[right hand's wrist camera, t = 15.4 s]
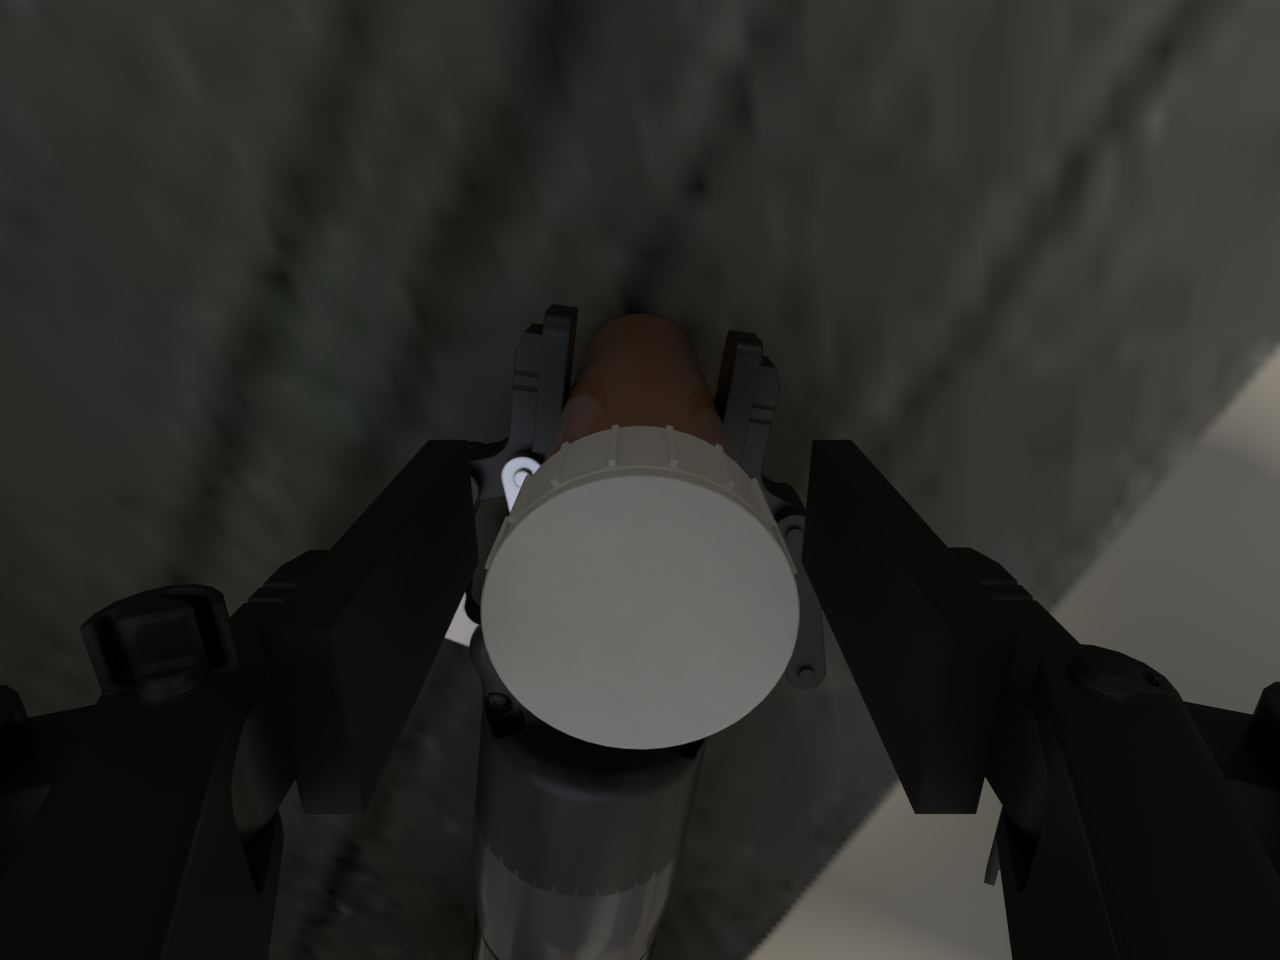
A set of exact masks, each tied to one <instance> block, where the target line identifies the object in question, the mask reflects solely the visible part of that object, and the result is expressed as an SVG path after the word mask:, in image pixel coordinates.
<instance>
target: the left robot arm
mask: <svg viewBox="0 0 1280 960" xmlns="http://www.w3.org/2000/svg"><path fill="white" fill-rule="evenodd" d="M577 315H578V308H577V307H570V306H562V305H555V304H552V305H551V306H550V307H549V308H548V310H547V311H546V313H545V318H544V324H543V325H541V324H534V323H532V324H531V325H530V327H529V328H528V329H527V330H526V331H525V332H524V334H523V336H522V338H521V340H520V342H519V344H518V346H517V348H516V350H515V363H514V377H513V391H512V404H511V418H510V432H509V437H508V438H506V439H504V440H502V441H499V442H494V443H490V444H484V443H481V442H476V441H472V442H468V443H467V444H468V454H469V464H470V475H471V485H472V495H473V505H474V516H475V514H476V512H477V509H478V507H479V504H480V502H481V501H484V500H489V499H494V498H499V497H504V496H506V500H507V504H508V508H509V512H511V509H512V507H513V505H514V502H515V500H516V498H517V495H518V493H519V490H520V488H521V486H522V483H523V481H524V479H525V477H526V476H527V474H530V475H531V476H532V475H533V474H534V473H535V472H536V471H537V469H538V468H539V467H540V466H541V465H542V464H543V461H544V458H545V456H546V453H547V450H548V448H549V445H550V442H551V440H552V437H553V434H554V432H555V429H556V427H557V424H558V421H559V419H560V416H561V413H562V411H563V408H564V405H565V403H566V400H567V397H568V395H569V392H570V384H571V374H572V364H573V355H574V345H575V336H576V326H577ZM779 389H780V385H779V380H778V374H777V368H776V367H775V366H774V364H773V363H772V362H771V361H770V360H769V358H768V357H764V356H763V343H762V341H761V340H760V339H759V338H758V337H757V336H756V335H755V334H754V333H747V332H740V331H733V330H729V332H728V334H727V338H726V342H725V347H724V353H723V358H722V363H721V369H720V374H719V379H718V385H717V390H716V395H715V401H714V403H715V405H716V408H717V411H718V413H719V416H720V418H721V421H722V424H723V426H724V429H725V432H726V434H727V437H728V439H729V442H730V445H731V447H732V450H733V453H734V455H735V458H736V461H737V463H738V465H739V466H740V467H741V468H742V469H743V470H744V471H745V473H746V474H747V475H748V476H749V477H750V479H753V478H754V477H755V478H756V479H757V481H758V483H759V485H760V487H761V489H762V492H763V494H764V496H765V499H766V501H767V503H768V506H769V508H770V510H771V513H772V515H773V517H774V520H775V521H776V523H777V525H778V528H779V530H780V532H781V535H782V537H783V539H784V542H785V544H786V546H787V548H788V551H789V553H790V555H791V558H792V560H793V562H794V565H795V567H796V571H797V573H796V574H794V577H795V580H796V583H797V588H798V594H799V600H800V622H799V629H798V636H797V640H796V643H795V647H794V650H793V653H792V656H791V658H790V660H789V662H788V665H787V667H786V669H785V671H784V672H785V674H786V677H787V680H788V682H789V683H790V684H791V685H792V686H794V687H796V688H799V689H810V688H813V687H816V686H817V685H819V684H820V683H821V682H822V681H823V679H824V678H825V675H826V665H825V651H824V637H823V623H822V609H821V605H820V602H819V600H818V598H817V596H816V594H815V591H814V589H813V587H812V585H811V582H810V580H809V578H808V576H807V574H806V571H805V569H804V567H803V565H802V563H801V557H802V546H803V536H804V526H805V516H806V509H805V507H804V505H803V504H802V502H801V500H800V498H799V496H798V494H797V493H796V491H795V489H794V488H793V487H792V486H790V485H788V484H786V483H776V482H774V481H772V480H770V479H768V478H766V477H764V476H763V475H762V474H761V472H762V466H763V462H764V457H765V453H766V448H767V443H768V439H769V434H770V430H771V425H772V421H773V416H774V412H775V407H776V403H777V398H778V394H779ZM472 585H473V580H472V578H471V580H470V582H469V585H468V587H467V589H466V591H465V594H464V596H463V598H462V600H461V602H460V605H459V607H458V609H457V611H456V613H455V616H454V618H453V620H452V622H451V624H450V627H449V629H448V631H447V633H446V636H445V638H446V639H449V640H452V641H454V642H457V643H460V644H462V645H465V646H468V647H469V652H470V657H471V660H472V663H473V664H474V666H475V668H476V670H477V671H478V673H479V675H480V677H481V680H482V684H483V706H482V720H481V735H480V749H479V763H478V778H477V792H476V806H475V820H474V836H473V852H472V864H473V877H474V886H475V893H476V907H475V921H474V934H473V947H472V960H651V959H652V954H653V950H654V945H655V941H656V936H657V932H658V927H659V922H660V920H661V918H662V916H663V913H664V911H665V909H666V906H667V904H668V902H669V899H670V897H671V894H672V891H673V888H674V884H675V880H676V877H677V873H678V869H679V864H680V860H681V855H682V851H683V846H684V842H685V837H686V832H687V828H688V824H689V819H690V815H691V810H692V806H693V802H694V797H695V793H696V788H697V784H698V779H699V775H700V770H701V766H702V761H703V757H704V752H705V748H706V744H707V739H708V736H707V737H705V738H702V739H699V740H696V741H692V742H689V743H686V744H682V745H676V746H671V747H665V748H654V749H624V748H616V747H609V746H603V745H599V744H595V743H591V742H587V741H584V740H581V739H579V738H576V737H573V736H570V735H568V734H566V733H564V732H562V731H560V730H558V729H556V728H554V727H552V726H550V725H549V724H547V723H546V722H544V721H543V720H541V719H539V718H538V717H537V716H535V715H534V714H533V713H532V712H530V711H529V710H528V709H527V708H525V707H524V706H523V705H522V704H521V703H520V702H519V701H518V700H517V699H516V698H515V697H514V696H513V694H512V693H511V692H510V691H509V690H508V688H507V687H506V686H505V684H504V683H503V681H502V680H501V679H500V677H499V675H498V673H497V672H496V670H495V668H494V666H493V664H492V662H491V660H490V657H489V654H488V652H487V649H486V646H485V643H484V638H483V633H482V628H481V614H480V606H479V605H478V604H477V603H476V602H475V601H474V599H473V597H472V594H471V589H472Z"/></svg>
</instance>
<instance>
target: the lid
mask: <svg viewBox="0 0 1280 960" xmlns="http://www.w3.org/2000/svg"><path fill="white" fill-rule="evenodd" d="M485 569H487V570H488V571H487V574H486V578H485V581H484V585H483V589H482V596H481V607H480V614H481V628H482V633H483V638H484V643H485V646H486V649H487V652H488V654H489V657H490V660H491V662H492V664H493V666H494V668H495V670H496V672H497V673H498V675H499V677H500V679H501V680H502V681H503V683H504V684H505V686H506V687H507V688H508V690H509V691H510V692H511V693H512V694H513V696H514V697H515V698H516V699H517V700H518V701H519V702H520V703H521V704H522V705H523V706H524V707H525V708H527V709H528V710H529V711H530V712H532V713H533V714H534V715H535V716H537V717H538V718H539V719H541V720H543V721H544V722H546V723H547V724H549V725H550V726H552V727H554V728H556V729H558V730H560V731H562V732H564V733H566V734H568V735H570V736H573V737H576V738H579V739H581V740H584V741H587V742H591V743H595V744H599V745H603V746H609V747H616V748H624V749H654V748H665V747H671V746H676V745H682V744H686V743H689V742H692V741H696V740H699V739H702V738H705V737H707V736H709V735H712V734H714V733H717V732H719V731H721V730H722V729H724V728H726V727H728V726H730V725H732V724H733V723H735V722H736V721H738V720H739V719H741V718H742V717H743V716H745V715H746V714H748V713H749V712H750V711H751V710H752V709H754V708H755V707H756V706H757V705H758V704H759V703H760V702H761V701H762V700H763V699H764V698H765V697H766V696H767V695H768V693H769V692H770V691H771V690H772V689H773V688H774V686H775V685H776V683H777V682H778V680H779V679H780V677H781V676H782V674H783V673H784V671H785V669H786V667H787V665H788V662H789V660H790V658H791V656H792V653H793V650H794V647H795V643H796V640H797V636H798V629H799V622H800V600H799V594H798V588H797V583H796V580H795V577H794V574H796V573H797V571H796V567H795V565H794V562H793V560H792V558H791V555H790V553H789V551H788V548H787V546H786V544H785V542H784V539H783V537H782V535H781V532H780V530H779V528H778V525H777V523H776V521H775V520H774V517H773V515H772V513H771V510H770V508H769V506H768V503H767V501H766V499H765V496H764V494H763V492H762V489H761V487H760V485H759V483H758V481H757V479H756V478H755V477H754V478H753V479H750V477H749V476H748V475H747V474H746V473H745V471H744V470H743V469H742V468H741V467H740V466H739V465H738V464H737V463H736V462H735V461H734V460H732V459H731V458H730V457H729V456H728V455H726V454H725V453H724V451H723V448H722V446H720V445H719V444H716V446H715V447H714V446H713V445H711V444H710V443H708V442H706V441H704V440H701V439H699V438H697V437H695V436H692V435H690V434H686V433H683V432H680V431H676V430H673V426H669V425H667V426H666V428H660V427H653V426H630V427H619V425H618V424H617V425H612V429H609V430H604V431H600V432H597V433H594V434H591V435H588V436H586V437H583V438H581V439H579V440H577V441H575V442H573V443H571V444H569V442H568V441H567V442H565V443H563V444H562V447H561V450H560V451H558V452H557V453H555V454H554V455H552V456H551V457H550V458H549V459H548V460H547V461H546V462H545V463H543V464H542V465H541V466H540V467H539V468H538V469H537V471H536V472H535V473H534V474H533V475H532V476H531V475H530V474H527V476H526V477H525V479H524V481H523V483H522V486H521V488H520V490H519V493H518V495H517V498H516V500H515V502H514V505H513V507H512V509H511V512H510V514H509V516H506V517H505V520H504V522H503V524H502V527H501V529H500V531H499V533H498V536H497V538H496V540H495V543H494V545H493V547H492V550H491V552H490V554H489V557H488V559H487V561H486V564H485Z"/></svg>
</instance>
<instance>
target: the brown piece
mask: <svg viewBox="0 0 1280 960" xmlns="http://www.w3.org/2000/svg"><path fill="white" fill-rule="evenodd" d="M617 424H618V425H619V427H630V426H653V427H660V428H666V426H667V425H669V426H673V430H676V431H680V432H683V433H686V434H690V435H692V436H695V437H697V438H699V439H701V440H704V441H706V442H708V443H710V444H711V445H713V446H714V447H715V446H716V444H719V445H720V446H722V448H723V451H724V453H725V454H726V455H728V456H729V457H730V458H731V459H732V460H734V461H735V462H736V463H737V461H736V458H735V455H734V453H733V450H732V447H731V445H730V442H729V439H728V437H727V434H726V432H725V429H724V426H723V424H722V421H721V418H720V416H719V413H718V411H717V408H716V405H715V403H714V400H713V397H712V395H711V392H710V390H709V387H708V384H707V382H706V379H705V376H704V374H703V371H702V368H701V366H700V363H699V361H698V358H697V355H696V353H695V350H694V348H693V346H692V344H691V342H690V341H689V339H688V338H687V336H686V335H685V334H684V333H683V332H682V331H681V330H680V329H679V328H678V327H677V326H675V325H674V324H673V323H671V322H669V321H668V320H666V319H664V318H661V317H658V316H655V315H650V314H630V315H625V316H622V317H619V318H616V319H614V320H612V321H610V322H609V323H607V324H606V325H604V326H603V327H602V328H601V329H600V330H599V331H598V332H597V333H596V334H595V335H594V336H593V337H592V339H591V341H590V342H589V344H588V346H587V348H586V350H585V352H584V355H583V358H582V360H581V363H580V366H579V368H578V371H577V374H576V376H575V379H574V382H573V384H572V387H571V389H570V392H569V395H568V397H567V400H566V403H565V405H564V408H563V411H562V413H561V416H560V419H559V421H558V424H557V427H556V429H555V432H554V434H553V437H552V440H551V442H550V445H549V448H548V450H547V453H546V456H545V458H544V461H543V463H545V462H546V461H547V460H548V459H549V458H550V457H551V456H552V455H554V454H555V453H557V452H558V451H560V450H561V447H562V444H563V443H565V442H567V441H568V442H569V444H571V443H573V442H575V441H577V440H579V439H581V438H583V437H586V436H588V435H591V434H594V433H597V432H600V431H604V430H609V429H612V425H617ZM737 464H738V463H737Z"/></svg>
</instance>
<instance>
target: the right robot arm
mask: <svg viewBox="0 0 1280 960" xmlns="http://www.w3.org/2000/svg"><path fill="white" fill-rule="evenodd" d="M478 563H479V557H478V546H477V536H476V526H475V516H474V505H473V495H472V485H471V475H470V464H469V454H468V444H467V440H429V441H428V442H427V443H426V444H425V445H424V446H423V447H422V448H421V449H420V450H419V452H418V453H417V454H416V455H415V456H414V457H413V458H412V459H411V460H410V462H409V463H408V464H407V465H406V466H405V467H404V468H403V469H402V470H401V472H400V473H399V474H398V475H397V476H396V477H395V478H394V479H393V480H392V482H391V483H390V484H389V485H388V486H387V487H386V488H385V489H384V490H383V492H382V493H381V494H380V495H379V496H378V497H377V498H376V499H375V500H374V502H373V503H372V504H371V505H370V506H369V507H368V508H367V509H366V510H365V512H364V513H363V514H362V515H361V516H360V517H359V518H358V519H357V520H356V522H355V523H354V524H353V525H352V526H351V527H350V528H349V529H348V530H347V532H346V533H345V534H344V535H343V536H342V537H341V538H340V539H339V540H338V542H337V543H336V544H335V545H334V546H333V547H332V548H331V549H330V550H309V551H307V552H305V553H304V554H302V555H300V556H298V557H296V558H294V559H293V560H291V561H289V562H287V563H285V564H284V565H282V566H281V567H280V568H279V569H278V570H277V571H276V572H275V573H274V574H273V575H272V576H271V577H270V578H269V579H268V580H267V581H266V582H265V583H264V584H263V588H259V589H258V590H257V591H256V592H255V593H254V594H253V595H252V596H251V597H250V598H249V599H248V603H244V604H243V605H242V606H241V607H240V608H239V609H238V610H237V611H236V612H235V613H234V614H233V615H232V616H231V617H230V618H229V616H228V612H227V608H226V604H225V600H224V596H223V593H221V592H220V591H218V590H216V589H215V588H213V587H211V586H204V585H197V584H186V585H173V586H166V587H161V588H157V589H153V590H148V591H144V592H140V593H138V594H135V595H132V596H130V597H127V598H124V599H122V600H119V601H116V602H114V603H113V604H111V605H109V606H107V607H105V608H104V609H102V610H100V611H98V612H97V613H95V614H93V615H92V616H91V617H90V618H89V619H88V620H87V621H86V622H85V623H84V624H83V625H82V626H81V627H79V628H80V631H81V634H82V637H83V640H84V642H85V645H86V648H87V651H88V654H89V657H90V659H91V662H92V665H93V668H94V671H95V674H96V676H97V679H98V682H99V685H100V688H101V690H102V694H101V696H100V698H99V700H98V702H97V703H96V705H92V706H87V707H82V708H77V709H71V710H66V711H61V712H56V713H51V714H46V715H40V716H35V717H30V718H28V716H27V713H26V711H25V709H24V706H23V704H22V701H21V699H20V696H19V694H18V692H16V691H15V690H13V689H11V688H10V687H8V686H6V685H0V960H268V955H269V947H270V940H271V933H272V925H273V918H274V910H275V903H276V895H277V888H278V880H279V873H280V865H281V858H282V850H283V843H284V833H283V826H282V821H281V817H280V813H279V810H278V807H279V806H280V804H281V802H282V801H283V799H284V797H285V796H286V794H287V792H288V791H289V789H290V787H291V786H292V784H293V782H294V781H295V779H296V782H297V787H298V791H299V795H300V799H301V803H302V807H303V812H304V814H365V812H366V810H367V808H368V806H369V803H370V801H371V799H372V797H373V795H374V792H375V790H376V788H377V786H378V784H379V781H380V779H381V777H382V775H383V773H384V770H385V768H386V766H387V764H388V761H389V759H390V757H391V755H392V753H393V750H394V748H395V746H396V744H397V742H398V739H399V737H400V735H401V733H402V731H403V728H404V726H405V724H406V722H407V719H408V717H409V715H410V713H411V711H412V708H413V706H414V704H415V702H416V700H417V697H418V695H419V693H420V691H421V689H422V686H423V684H424V682H425V680H426V677H427V675H428V673H429V671H430V669H431V666H432V664H433V662H434V660H435V658H436V655H437V653H438V651H439V649H440V647H441V644H442V642H443V640H444V638H445V636H446V633H447V631H448V629H449V627H450V624H451V622H452V620H453V618H454V616H455V613H456V611H457V609H458V607H459V605H460V602H461V600H462V598H463V596H464V594H465V591H466V589H467V587H468V585H469V582H470V580H471V578H472V576H473V574H474V571H475V569H476V567H477V565H478ZM801 563H802V565H803V567H804V569H805V571H806V574H807V576H808V578H809V580H810V582H811V585H812V587H813V589H814V591H815V594H816V596H817V598H818V600H819V602H820V605H821V607H822V609H823V611H824V613H825V616H826V618H827V620H828V622H829V624H830V627H831V629H832V631H833V633H834V636H835V638H836V640H837V642H838V644H839V647H840V649H841V651H842V653H843V655H844V658H845V660H846V662H847V664H848V666H849V669H850V671H851V673H852V675H853V677H854V680H855V682H856V684H857V686H858V689H859V691H860V693H861V695H862V697H863V700H864V702H865V704H866V706H867V708H868V711H869V713H870V715H871V717H872V719H873V722H874V724H875V726H876V728H877V731H878V733H879V735H880V737H881V739H882V742H883V744H884V746H885V748H886V750H887V753H888V755H889V757H890V759H891V761H892V764H893V766H894V768H895V770H896V773H897V775H898V777H899V779H900V781H901V784H902V786H903V788H904V790H905V792H906V795H907V797H908V799H909V801H910V803H911V806H912V808H913V810H914V812H915V814H976V812H977V807H978V803H979V799H980V795H981V790H982V787H983V782H984V778H985V777H986V779H987V780H988V782H989V784H990V785H991V787H992V789H993V790H994V792H995V794H996V795H997V797H998V799H999V800H1000V802H1001V804H1002V805H1003V806H1002V810H1001V813H1000V817H999V821H998V825H997V829H996V833H995V837H994V841H993V844H992V848H991V852H990V856H989V860H988V864H987V868H986V874H985V880H984V883H987V884H990V885H994V884H995V881H996V877H997V873H998V870H1000V871H1001V878H1002V886H1003V893H1004V900H1005V908H1006V915H1007V923H1008V930H1009V938H1010V945H1011V953H1012V960H1280V682H1275V683H1273V684H1271V685H1269V686H1268V687H1266V688H1264V689H1263V692H1262V694H1261V696H1260V699H1259V701H1258V704H1257V706H1256V709H1255V711H1254V714H1253V715H1252V714H1246V713H1241V712H1236V711H1231V710H1226V709H1220V708H1215V707H1210V706H1205V705H1200V704H1194V703H1189V702H1185V701H1183V700H1182V698H1181V696H1180V695H1179V693H1178V691H1177V690H1176V689H1175V688H1174V687H1173V686H1172V684H1171V683H1170V682H1169V681H1168V680H1167V679H1166V678H1165V677H1164V676H1163V675H1161V674H1160V673H1158V672H1157V671H1155V670H1154V669H1152V668H1151V667H1149V666H1148V665H1146V664H1145V663H1143V662H1141V661H1138V660H1136V659H1134V658H1132V657H1129V656H1127V655H1125V654H1122V653H1120V652H1117V651H1113V650H1109V649H1105V648H1102V647H1098V646H1094V645H1083V644H1080V643H1079V642H1078V641H1077V640H1076V639H1075V638H1074V637H1073V636H1071V634H1070V633H1069V632H1068V631H1067V630H1066V629H1065V628H1063V626H1062V625H1061V624H1060V623H1058V621H1056V620H1055V618H1054V617H1052V616H1051V615H1050V614H1049V613H1048V612H1047V611H1046V610H1045V609H1044V608H1043V607H1042V606H1041V605H1040V604H1039V603H1038V602H1037V601H1033V599H1032V598H1033V597H1032V596H1031V595H1030V594H1029V593H1028V592H1027V591H1026V590H1025V589H1024V588H1023V587H1022V586H1021V585H1017V581H1016V580H1015V579H1014V578H1013V577H1012V576H1011V575H1010V574H1009V573H1008V572H1007V571H1006V570H1005V569H1004V568H1003V567H1002V566H1001V565H1000V564H999V563H998V562H996V561H994V560H992V559H990V558H989V557H987V556H985V555H983V554H981V553H979V552H977V551H976V550H974V549H972V548H948V547H947V546H946V545H945V544H944V543H943V542H942V540H941V539H940V538H939V537H938V536H937V535H936V534H935V533H934V532H933V530H932V529H931V528H930V527H929V526H928V525H927V524H926V523H925V522H924V520H923V519H922V518H921V517H920V516H919V515H918V514H917V513H916V512H915V510H914V509H913V508H912V507H911V506H910V505H909V504H908V503H907V502H906V500H905V499H904V498H903V497H902V496H901V495H900V494H899V493H898V492H897V490H896V489H895V488H894V487H893V486H892V485H891V484H890V483H889V482H888V480H887V479H886V478H885V477H884V476H883V475H882V474H881V473H880V472H879V470H878V469H877V468H876V467H875V466H874V465H873V464H872V463H871V462H870V460H869V459H868V458H867V457H866V456H865V455H864V454H863V453H862V452H861V450H860V449H859V448H858V447H857V446H856V445H855V444H854V443H853V442H852V441H851V440H813V444H812V454H811V464H810V475H809V485H808V495H807V505H806V516H805V526H804V536H803V546H802V557H801Z"/></svg>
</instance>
